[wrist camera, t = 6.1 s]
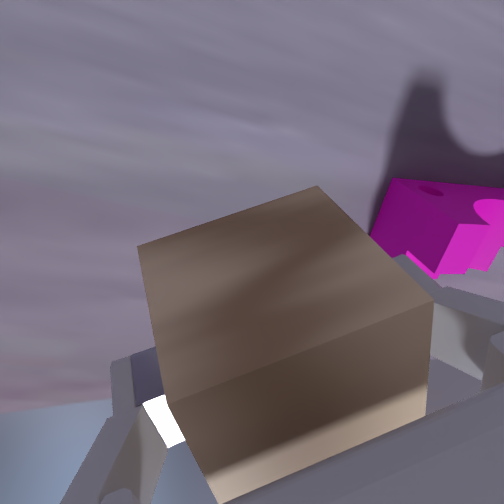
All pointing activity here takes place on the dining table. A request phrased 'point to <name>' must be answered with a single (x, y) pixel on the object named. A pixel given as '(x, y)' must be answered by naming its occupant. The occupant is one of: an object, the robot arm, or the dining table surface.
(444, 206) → the toy block
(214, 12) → the dining table surface
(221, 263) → the beech block
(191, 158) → the dining table surface
